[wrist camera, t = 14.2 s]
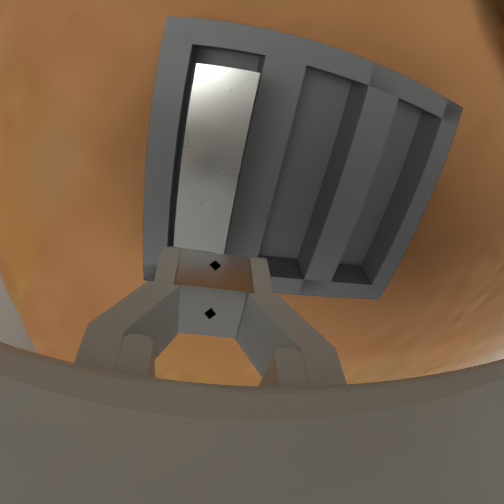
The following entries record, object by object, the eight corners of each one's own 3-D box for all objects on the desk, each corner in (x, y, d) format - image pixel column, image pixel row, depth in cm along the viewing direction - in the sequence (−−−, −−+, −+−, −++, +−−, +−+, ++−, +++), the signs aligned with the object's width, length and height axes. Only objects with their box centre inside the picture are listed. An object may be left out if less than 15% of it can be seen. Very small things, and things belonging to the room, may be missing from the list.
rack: (434, 98, 18) (465, 108, 15) (364, 273, 27) (380, 301, 24) (176, 24, 14) (165, 15, 11) (151, 251, 23) (142, 283, 20)
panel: (245, 70, 16) (260, 72, 10) (214, 239, 22) (214, 308, 16) (205, 64, 15) (196, 63, 9) (181, 235, 22) (170, 304, 16)
